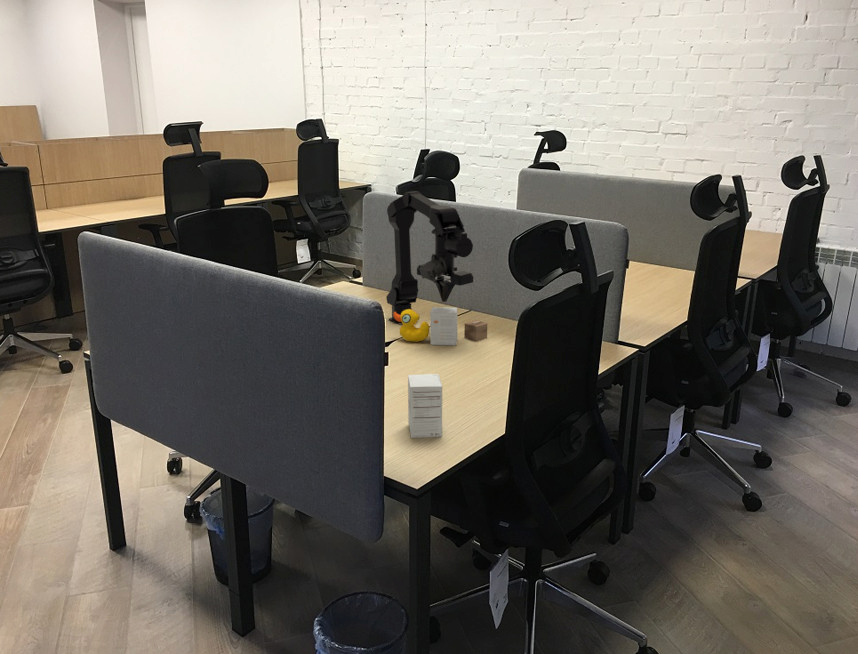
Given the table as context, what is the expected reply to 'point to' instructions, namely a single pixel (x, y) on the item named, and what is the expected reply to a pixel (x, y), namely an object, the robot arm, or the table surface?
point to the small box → (443, 326)
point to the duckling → (411, 326)
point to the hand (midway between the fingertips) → (444, 301)
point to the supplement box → (425, 405)
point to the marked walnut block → (475, 330)
